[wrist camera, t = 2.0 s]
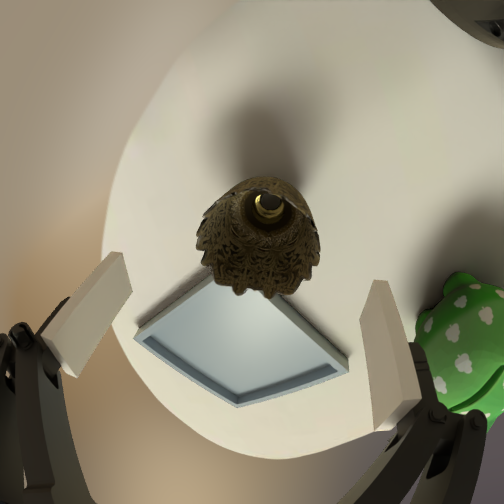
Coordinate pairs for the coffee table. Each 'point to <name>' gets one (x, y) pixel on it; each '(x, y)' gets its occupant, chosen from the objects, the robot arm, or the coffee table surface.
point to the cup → (259, 239)
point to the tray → (240, 344)
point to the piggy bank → (466, 346)
